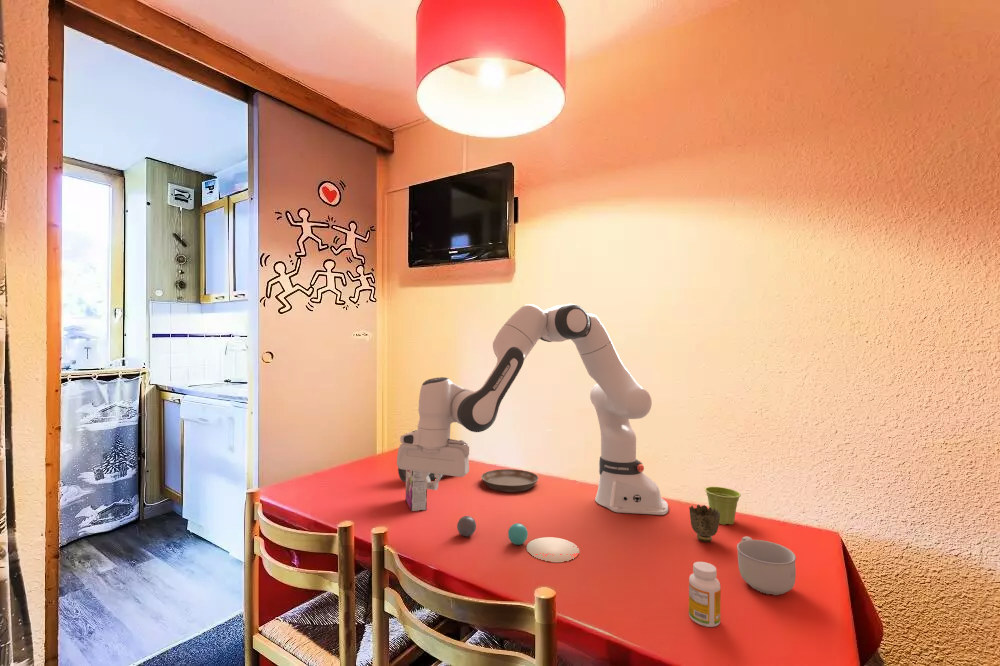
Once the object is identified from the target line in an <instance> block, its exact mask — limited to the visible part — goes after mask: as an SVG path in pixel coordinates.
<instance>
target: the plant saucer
mask: <svg viewBox="0 0 1000 666" xmlns="http://www.w3.org/2000/svg"><path fill="white" fill-rule="evenodd" d="M480 477H481V480H482V481H483V483H484V485H486V486H487V487H488V488H490V489H492V490H495V491H499V492H503V493H505V492H507V493H516V492H517V493H518V492H525V491H528V490H530V489H531V488H532V487H534V486H535V485H536V484H537V482H538V481H539V476H538V475H537V474H536V473H534V472H531V471H527V470H522V469H512V468H511V469H510V468H508V469H507V468H506V469H503V468H502V469H494V470H490V471H489V470H488V471H486V472H484V473H483V474H481V476H480Z"/></svg>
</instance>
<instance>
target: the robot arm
mask: <svg viewBox="0 0 1000 666" xmlns="http://www.w3.org/2000/svg"><path fill="white" fill-rule="evenodd" d="M607 331H608V330H607V329H606V328H605V326H604V324H603V323H602V322H601V320H600V319H599V317H598V316H597V315H596V314H593V313H587V311H586V310H585V309H584V308H583V307H581V305H578V304H574V303H566V304H561V305H555V306H553V307H551V308H550V307H549V308H547V309H544V310H543V309H541V308H540V307H539V306H537V305H535V304H530V303H526V304H525V305H522V307H520V308H519V309H518V310H516V311H515V312H514V313H513V314H512V315H511V316H510V317H509V318H508V320H507V321H506V322H505V323H504V324H503V326H502V327H501V328H500V329H499V331H498V332H497V333H496V336H495V338H494V340H493V341H492V349H493V354H494V355H495V357H496V358H497V362H496V365H495V367H494V368H493V370H492V371H491V373H490V374H489V376H488V378H487V379H486V380H485V382H484V384H483V385H482V386H481V387H480V388H479V389H478V390H476V391H474V390H470V389H468V388H465V387H462V386H460V385H459V384H457V383H455V382H453V381H452V380H451V379H450V378H449V377H444V376H441V377H433V378H430V379H429V378H428V379H426V380H425V381H424V382H422V384H421V387H420V392H419V398H418V409H417V410H418V411H417V412H418V414H419V419H418V423H417V430H413V431H410V432H407V433H405V434H402V435H400V439H399V440H400V443H401V444H400V445H399V446H398V450H397V457H396V466H397V468H398V467H399V469H404V470H411V471H419V472H422V477H423V479H424V481H425V482H426V489H427V490H431V491H437V490H438V489H439V483H440V481H441V480H442V479H443V478H442V475H445V476H452V477H460V478H463V477H465V476H466V475H468V473H469V472H470V463H469V462H470V461H469V460H470V459H469V455H470V446H469V444H468V443H467V442H466V441H464V440H457V439H451V426H452V425H451V424H453V423H457V424H460V425H461V426H463V428H465V429H467V430H468V431H470V432H472V433H482V432H485V431H486V430H488V429H489V428H491V426H492V425H493V424H494V422H495V421H496V419H497V417H498V412H499V410H500V406H501V403H502V402H503V399H504V397H505V396H506V394H507V392H508V391H509V389H510V388H511V387H512V385H513V383H514V382H515V379H516V378H517V376H518V375H519V372H520V371H521V369H522V367H523V364H524V362H525V360H526V359H527V357H528V355H529V354H530V353H531V351H532V350H533V348H534V347H535V345H536V344H537V343H538V341H539V340H541V341H544V342H548V343H552V342H553V343H555V342H558V343H560V342H561V343H562V342H565V341H569V340H571V341H572V342H573V344H574V345H575V347H576V350H577V352H578V354H579V357H580V359H581V361H582V363H583V365H584V367H585V369H586V371H587V374H588V375H589V376H590V378H592V379H593V380H594V382H596V384H594V385H593V386H592V388H591V390H590V394H589V395H590V396H589V398H590V401H591V403H592V405H593V406H594V409H595V412H596V415H597V421H598V425H599V430H600V456H599V460H598V474H599V481H598V482H599V483H598V488H597V493H596V494H595V499H594V500H595V502H596V503H597V504H599V505H600V506H603V507H604V508H607V509H609V510H610V511H612V512H615V513H622V514H623V513H624V514H639V515H640V514H641V515H654V516H655V515H657V516H663V515H666V514H668V512H669V505H668V502H667V501H666V500H665V499H664V498H662V495H661V491H660V488H659V486H658V484H657V483H656V482H655V481H653V480H652V479H651V478H650V477H649V476H648V475H646V474H645V473H644V470H645V466H644V465H643V463H642V461H641V460H638V459H637V436H636V433H635V431H634V429H633V428H632V426H631V423H630V420H638V419H639V420H640V419H642V418H644V417H646V416H647V415H648V414H649V413H650V411H651V409H652V398H651V395H650V393H649V392H648V391H647V390H646V389H645V388H644V387H643V386H641V384H639V383H638V382H637V380H636V379H635V378H634V377H633V376H632V374H631V373H630V372H629V370H628V369H627V367H626V366H625V365H624V363H623V362H622V360H621V358H620V356H619V354H618V352H617V350H616V348H615V346H614V344H613V341H612V340H611V337H610V335H609V333H608V332H607ZM430 473H434V474H435V478H436V477H437V478H436V480H434V481H431V480H430V477H429V474H430ZM441 478H442V479H441Z"/></svg>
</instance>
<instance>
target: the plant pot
mask: <svg viewBox="0 0 1000 666" xmlns="http://www.w3.org/2000/svg"><path fill="white" fill-rule="evenodd" d="M704 491H705V493H706V496H707V501H708V509H709V508H710V507H711V508H712V511H713V509H716V511H717V510H718V512H720V519H719V524H720V525H724V526H725V525H733V524H735V519H736V511H737V506H738V503H739V499H740V497H741V493H740V492H739V491H737V490H735V489H732V488H727V487H722V486H706V487H705V488H704Z"/></svg>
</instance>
